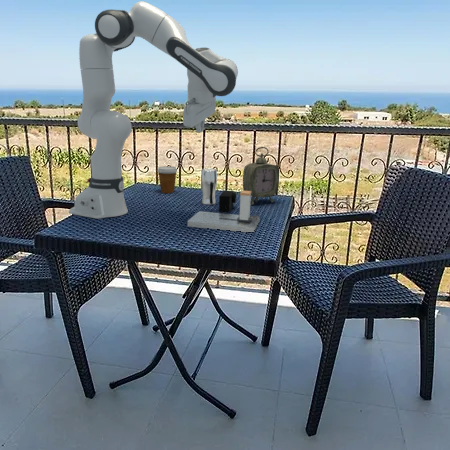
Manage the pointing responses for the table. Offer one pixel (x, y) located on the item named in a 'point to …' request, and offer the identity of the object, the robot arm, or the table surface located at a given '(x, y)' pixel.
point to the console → (222, 222)
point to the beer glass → (209, 185)
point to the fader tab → (245, 206)
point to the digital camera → (226, 201)
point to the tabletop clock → (261, 178)
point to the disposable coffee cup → (167, 178)
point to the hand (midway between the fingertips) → (199, 131)
